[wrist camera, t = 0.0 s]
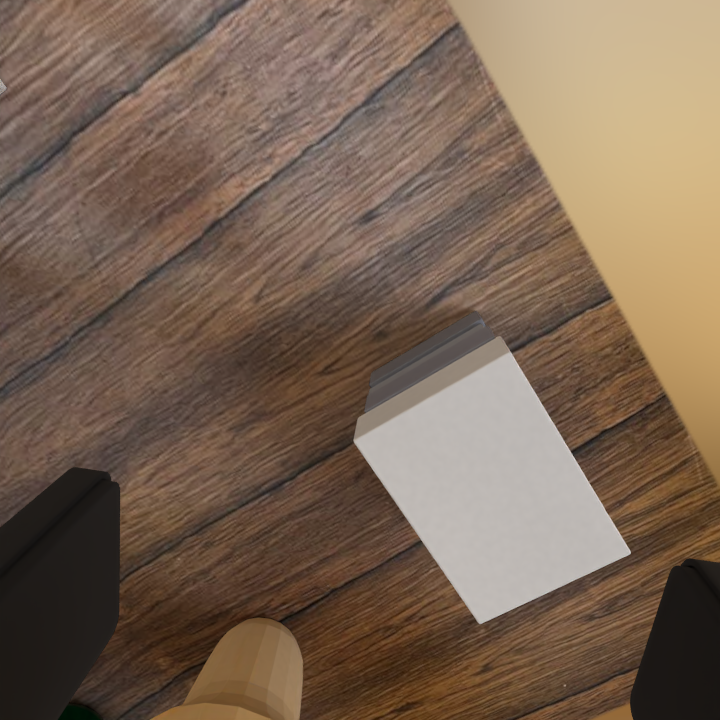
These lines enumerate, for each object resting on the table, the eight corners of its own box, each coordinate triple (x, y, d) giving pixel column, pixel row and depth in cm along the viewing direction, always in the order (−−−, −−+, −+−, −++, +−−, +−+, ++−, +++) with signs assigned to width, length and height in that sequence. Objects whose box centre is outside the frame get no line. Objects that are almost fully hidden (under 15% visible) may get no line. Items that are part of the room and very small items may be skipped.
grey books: (367, 372, 31) (359, 413, 26) (477, 306, 30) (494, 335, 24) (466, 520, 34) (479, 589, 28) (572, 465, 32) (609, 526, 26)
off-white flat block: (357, 417, 26) (352, 441, 23) (499, 334, 24) (510, 351, 22) (473, 587, 28) (479, 625, 25) (611, 520, 26) (632, 554, 24)
